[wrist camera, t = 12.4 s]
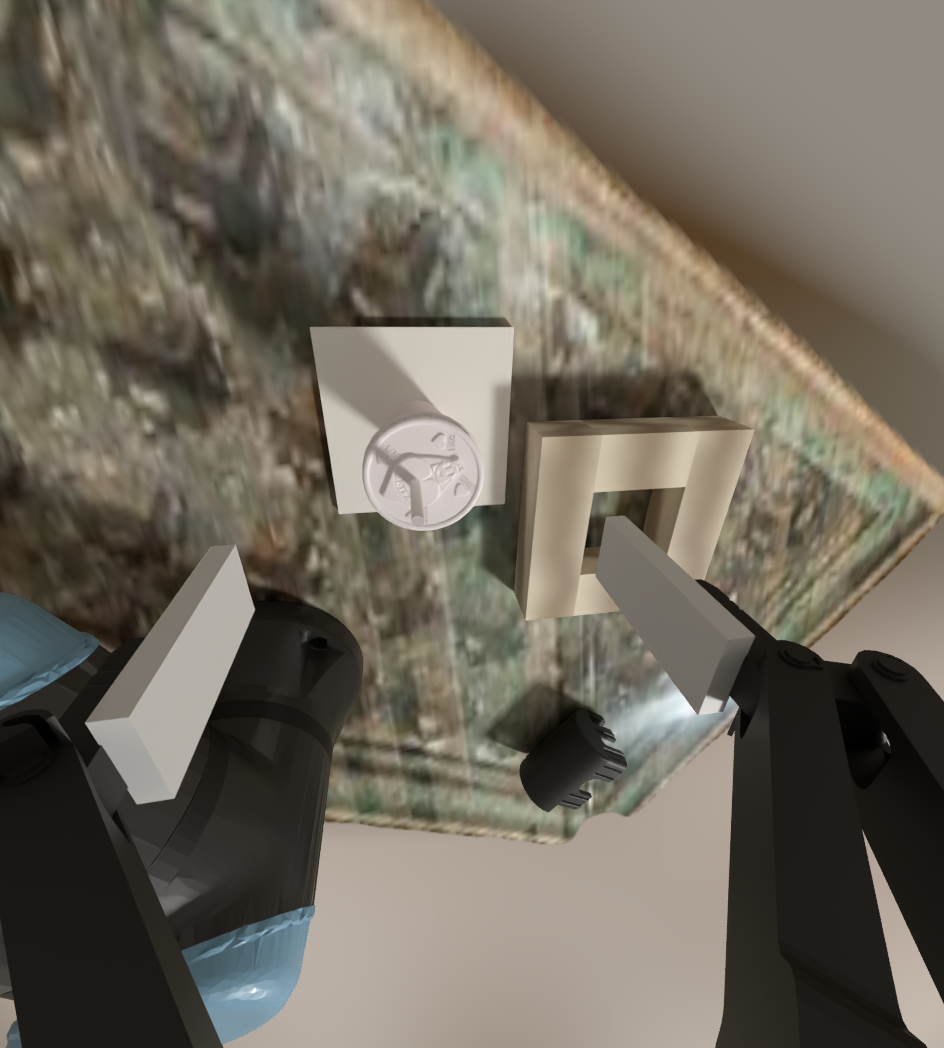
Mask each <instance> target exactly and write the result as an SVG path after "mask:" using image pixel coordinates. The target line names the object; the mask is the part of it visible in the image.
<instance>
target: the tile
mask: <svg viewBox="0 0 944 1048" xmlns="http://www.w3.org/2000/svg"><path fill="white" fill-rule="evenodd" d="M310 332H311V339H312V345H313V352H314V358H315V364H316V371H317V377H318V384H319V390H320V396H321V403H322V409H323V416H324V422H325V428H326V435H327V441H328V447H329V454H330V460H331V467H332V473H333V479H334V486H335V492H336V499H337V505H338V511H339V514H348V513H364V512H377V511H376V509H375V508H374V507H373V506H372V504H371V503H370V501H369V499H368V497H367V495H366V492H365V489H364V486H363V480H362V464H363V459H364V454H365V450H366V448H367V446H368V444H369V442H370V440H371V438H372V437H373V435H374V434H375V433H376V432H377V431H378V430H379V429H380V428H381V427H382V426H383V425H384V424H386V423H388V422H389V421H390V420H391V418H392V417H393V415H394V413H395V412H396V410H397V409H398V408H399V407H400V406H401V405H403V404H404V403H407V402H409V401H414V400H420V401H425V402H428V403H430V404H431V405H433V406H434V407H435V408H436V409H437V410H439V411H440V412H441V413H442V414H443V415H445V416H448V417H450V418H451V419H453V420H455V421H457V422H458V423H460V424H462V425H463V426H464V427H465V428H466V429H467V430H468V431H469V432H470V433H471V434H472V435H473V437H474V439H475V441H476V443H477V445H478V446H479V448H480V452H481V456H482V459H483V464H484V483H483V488H482V491H481V494H480V496H479V498H478V500H477V502H476V503H475V505H474V506H480V505H496V504H505V489H506V470H507V451H508V432H509V413H510V394H511V375H512V357H513V338H514V327H360V326H311V327H310Z"/></svg>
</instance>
